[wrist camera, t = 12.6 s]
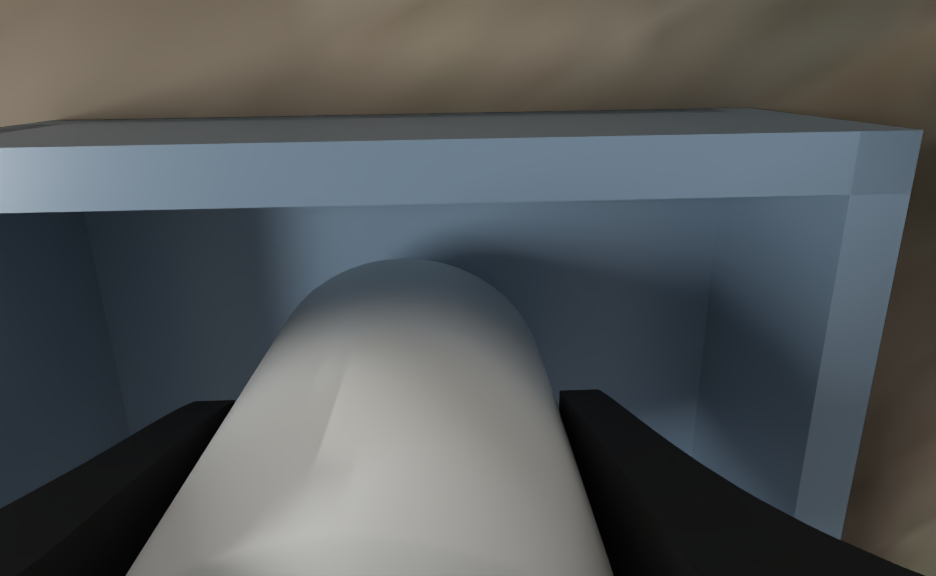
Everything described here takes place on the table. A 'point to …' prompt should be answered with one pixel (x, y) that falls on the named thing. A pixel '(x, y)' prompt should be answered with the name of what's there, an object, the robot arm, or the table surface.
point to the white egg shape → (388, 445)
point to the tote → (464, 267)
